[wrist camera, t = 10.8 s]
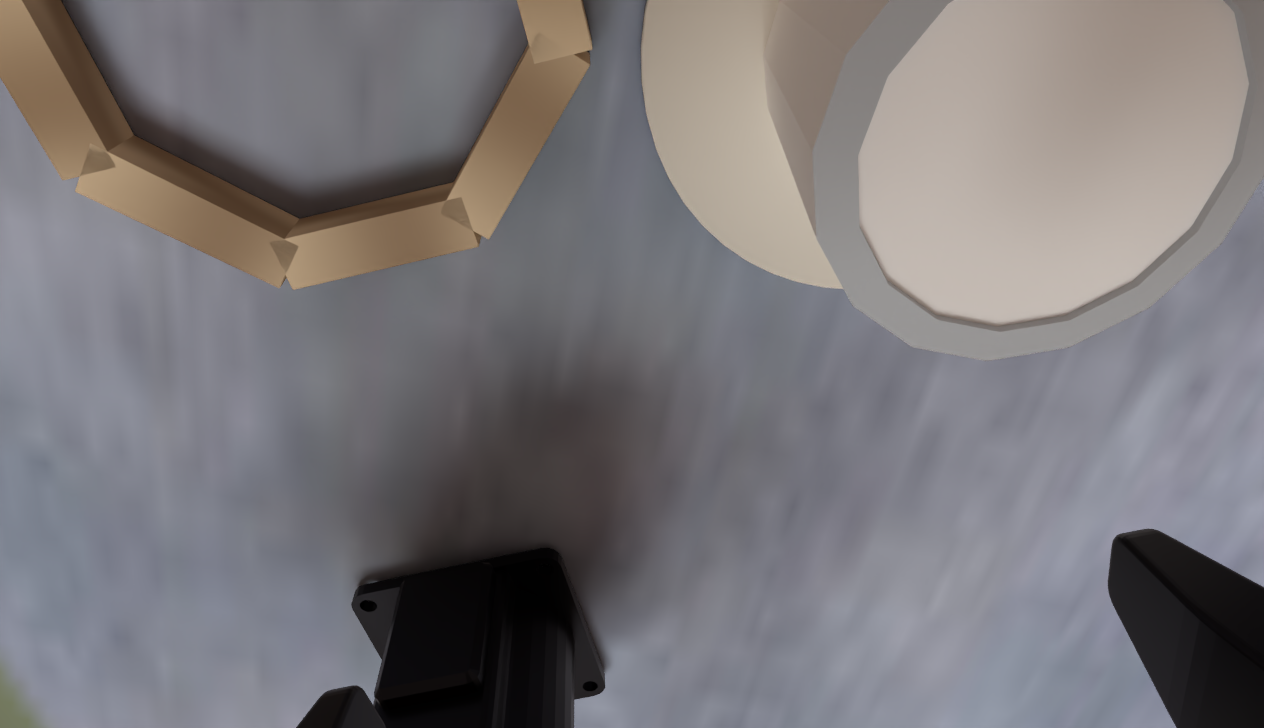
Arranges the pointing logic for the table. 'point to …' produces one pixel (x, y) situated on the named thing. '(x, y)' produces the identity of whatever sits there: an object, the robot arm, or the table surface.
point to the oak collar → (249, 227)
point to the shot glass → (1017, 156)
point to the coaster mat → (726, 132)
